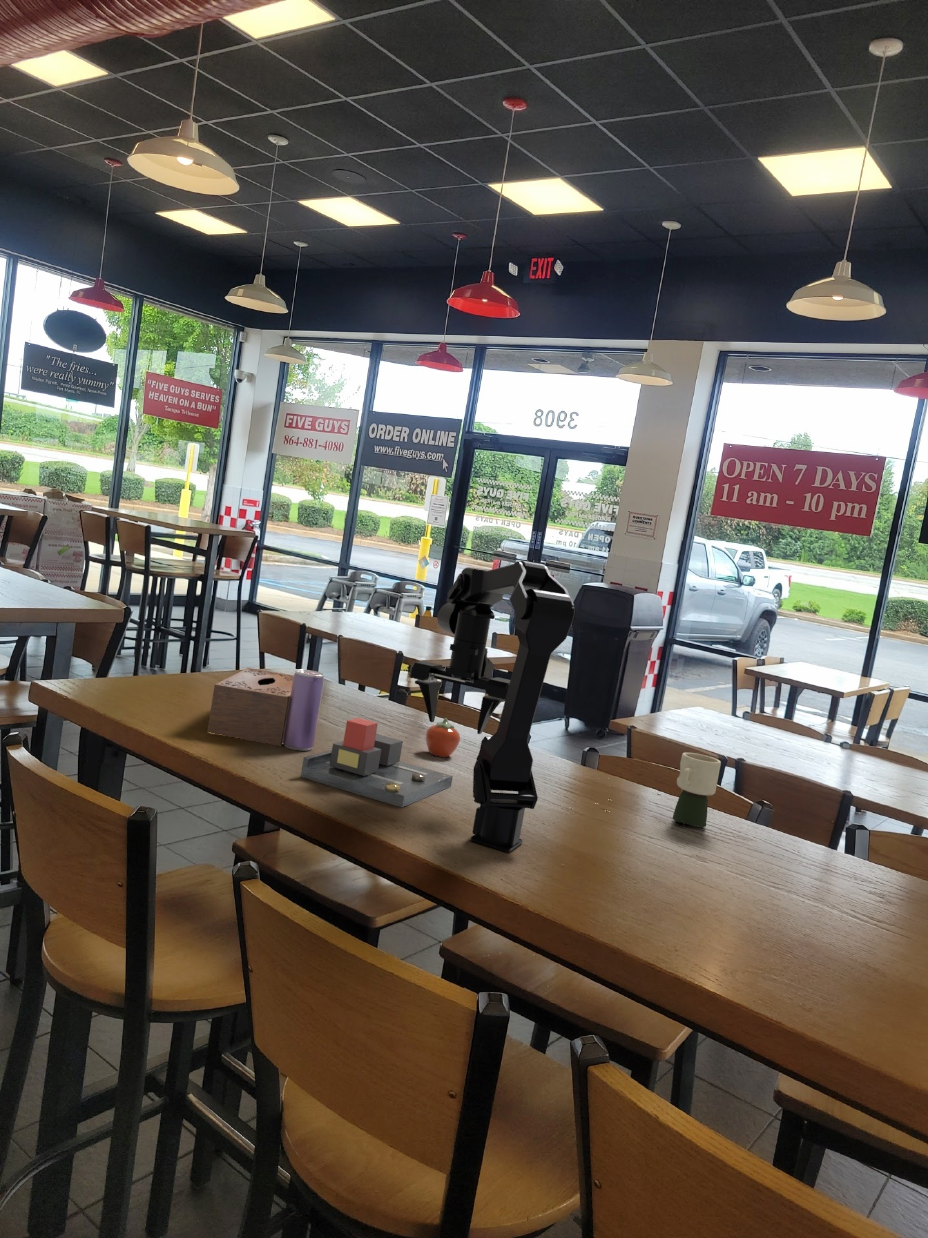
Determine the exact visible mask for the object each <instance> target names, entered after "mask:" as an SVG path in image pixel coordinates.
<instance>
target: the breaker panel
mask: <svg viewBox="0 0 928 1238" xmlns="http://www.w3.org/2000/svg"><path fill="white" fill-rule="evenodd" d="M331 753H332V749H331V750H327V751H323V752H319V753H316V754H311V755H308V756H304V757H303V760H302V765H301V773H300V778H303V779H305V780H309V781H311V782H312V781H313V782H316V783H318V784H322V785H327V786H329V787H332V788H336V789H338V790H343V791H346V792H349V793H353V794H355V795H359V796H361V797H362V796H363V797H365V798H369V799H371V800H376V801H377V802H383V803H385V804H389V805H392V806H395V807H398V806H399V808H404V806H405V807H406V806H409V805H411V804H414V803H416V802H419V801H421V800H424V799H425V798H427V797H430V796H433V795H434V794H437V793H439V792H442V791H444V790H446V789H448V788H451V787H452V782H453V777H454V776H453V775H451V774H446V773H444V772H440V771H436V770H432V769H429V768H425V767H421V766H419V765H416V764H411V763H408V762H403V761H399V762H397V763H394V764H391V765H388V766H386V765H382V764H379V767H378V771H377V772H374V773H371V774H368V775H365V776H363V775H359V774H356V773H352V772H349V771H346V770H342V769H339V768H335V767H332V766H329V765H330V759H331ZM441 790H442V791H441Z"/></svg>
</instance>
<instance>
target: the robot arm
mask: <svg viewBox="0 0 928 1238" xmlns="http://www.w3.org/2000/svg"><path fill="white" fill-rule="evenodd" d="M507 594H509V595H510V594H511V595H510V597H509V602H510V604H511V607H512V609H513V611H514V613H515V616H514V622H513V626H514V629H515V632H516V636H517V639H518V643H519V646H518V649H517V653H516V657H515V661H514V665H513V669H512V672H511V676H510V679H507V678H503V677H492V678H491V676H492V672H493V670H494V666H495V663H493V662H492V660H490V659H489V658H488V648H487V641H488V637H489V635H488V634H489V630H490V625H491V620H494V619H495V617H496V616H495V612H494V611H493V610H492V609H491V608H492V607H493V606H494V605H495V604H497V603H499V602H501V601H502V600H504V599H503V598H504V595H507ZM446 602H447V603H445V604H443V605H442V606H441V608H439V611H438V612H437V615H436V616H437V620H436V621H437V623H438V626H439V627H440V629H442V630H443V631H445V632H447V633H449V634H452V635H454V636H453V643H450V645H449V651H451V655H450V662H449V666H447V667H446V669H443V664H439V663H435V662H432V661H431V662H430V661H427V660H423V661H415V662H414V663H412V664H411V666H410V668H409V673H408V674H409V675H408V677H409V678H410V679H414V680H415V681H414V684H415V685H418V686H419V689H420V692H421V695H422V698H423V700H424V703H425V708H426V712H427V716H428V720H429V722H430V723H434V722H435V719H436V715H437V707H438V699H439V698H438V697H439V692H440V690H441V686H442V684H443V681H444V682H449V683H454V684H456V685H457V684H458V685H461V686H462V685H463V686H466V687H471V688H475V689H480V690H483V691H485V692H486V694H487V695H485V696H482V700H481V704H480V705H481V706H480V710H479V715H478V722H477V733H476V734H477V735H481V734H482V733H483V731H484V729H485V727H486V725H487V724H488V722H489V721H490V718H491V716H492V715H493V713H494V711H495V710H496V709H497V707H498V706H499V705H500V704H501V703H504V704H503V708H502V712H501V715H500V718H499V723H498V726H497V730H496V732H495V733H494V734H493V735H492V736H486V735H485V736H484V737H483V738H482V740H481V741H480V747H479V752H478V755H477V756H476V760H475V763H474V766H473V775H472V776H473V777H472V779H473V780H472V781H473V782H472V793H473V794H472V798H473V799H474V800H473V802H474V803H475V804H479V806H478V807H477V808H476V809H475V815H474V821H473V827H472V835H471V836H470V841H471V842H472V843H473V842H474V843H478V844H481V845H484V846H487V847H490V848H493V849H496V850H500V851H502V852H506V853H507V852H508V853H510V852H512V851H513V850H514V849H515V848H517V847H519V846H520V845H521V844H523V839H522V838H520V837H521V833H522V827H523V823H524V822H523V821H524V815H525V811H526V809H530V810H534V809H535V807H536V805H537V801H538V799H539V798H538V793H537V789H536V784H535V780H534V775H533V770H532V769H533V768H532V767H533V762H534V759H533V755H532V752H531V749H530V746H529V743H528V741H529V737H530V733H531V729H532V726H533V722H534V719H535V715H536V711H537V707H538V704H539V700H540V697H541V696H540V695H541V692H542V688H543V685H544V681H545V678H546V674H547V672H548V671H547V670H548V666H549V662H550V659H551V656H552V653H554V651H555V650H556V649H557V648H559V647H560V646H561V645H562V643H564V642H565V640H566V639H567V637H568V635H569V632H570V629H571V627H572V624H573V623H574V621H575V618H576V606H575V604H574V601H573V600H572V598H571V595H570V594H569V591H568V589H567V588H566V587H564V585H563V584H562V583H560V582H559V581H558V580H557V579H556V578H555V577H554V576H552V573H551V572H550V570H549V567H548V566H545V565H544V564H543V563H539V562H538V563H537V562H531V561H526V560H519V561H515V562H514V563H513V564H509V565H505V566H501V567H497V568H493V569H489V570H487V569H486V570H485V569H479V568H474V567H473V568H472V567H465V568H463V569H462V571H461V572H460V573H459V574H458V576H457V577H456V579H455V581H454V582H453V584H452V585H451V587H450V588H449V590H448V592H447V598H446ZM455 676H457V677H455ZM459 677H460V678H459ZM493 791H495V792H493ZM497 791H501V792H497ZM510 792H514V793H510ZM515 792H516V793H515Z"/></svg>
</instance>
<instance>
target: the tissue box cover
mask: <svg viewBox="0 0 928 1238" xmlns="http://www.w3.org/2000/svg"><path fill="white" fill-rule="evenodd" d="M293 676H294V674H287V673H282V672H275V671H271V670H266V669H265V670H263V669H258V668H252V667H247V668H245V669H242V670H241V671H239V672H236V673H235V674H232V675H231V676H228V677H226V678H224V679H223V680H221V681H218V682H217V683H215V684H214V686H213V692H212V699H211V706H210V711H209V718H208V725H207V732H211V733H215V734H222V735H225V736H231V737H238V738H241V739H240V740H243V739H247V740H246V741H249V740H251V741H250V742H254V741H258V742H257V743H260V742H261V744H266V743H268V744H267V745H272V746H273V745H274V746H278V745H281V746H282V745H283V744H284V743H283V739H284V733H285V727H286V720H287V714H288V708H289V701H290V695H291V689H292V683H293ZM207 732H206V733H207ZM225 736H224V737H225ZM231 737H230V738H231ZM282 743H283V744H282Z"/></svg>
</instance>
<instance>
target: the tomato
mask: <svg viewBox="0 0 928 1238" xmlns="http://www.w3.org/2000/svg"><path fill="white" fill-rule="evenodd" d="M424 735H425V736H424V740H425V741H424V742H425V744H426V747H427V750H428V752H429V753H430V754H431V755H432V754H433V755H432V756H434V755H435V757H438V756H441V757H440V758H449V757H450V756H451V755H452V754H453V753H454V752H455V751H456V750H457V748H458V747H459V745H460V741H461V736H460V735H461V734H460V733H459V732H458V730H457V729H456V728H455V726H454V724H453V725H452V724H451V723H450V722H449V721H448V718H447V717H445V718H443V720H442V721H438V722H436V724H433V725H431V726H430V727H428V728H427V730H426V731H425V734H424Z"/></svg>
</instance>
